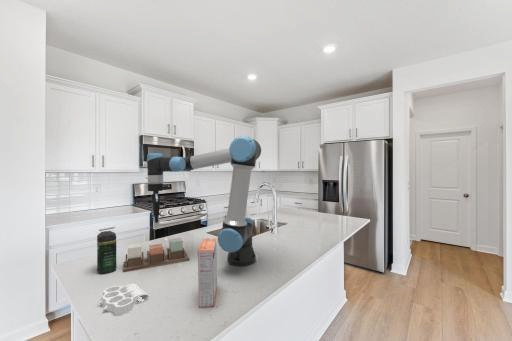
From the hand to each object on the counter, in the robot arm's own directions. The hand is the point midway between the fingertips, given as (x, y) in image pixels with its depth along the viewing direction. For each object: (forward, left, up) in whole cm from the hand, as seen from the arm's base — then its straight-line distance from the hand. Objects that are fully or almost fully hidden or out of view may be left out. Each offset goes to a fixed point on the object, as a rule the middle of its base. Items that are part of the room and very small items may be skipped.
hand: (156, 228), depth 125 cm
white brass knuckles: (-33, +15, -19) cm, 40 cm away
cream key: (0, +10, -14) cm, 17 cm away
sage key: (0, -10, -14) cm, 17 cm away
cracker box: (-44, -15, -18) cm, 50 cm away
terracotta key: (0, 0, -15) cm, 15 cm away
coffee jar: (+2, +22, -18) cm, 29 cm away
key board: (0, 0, -18) cm, 18 cm away
